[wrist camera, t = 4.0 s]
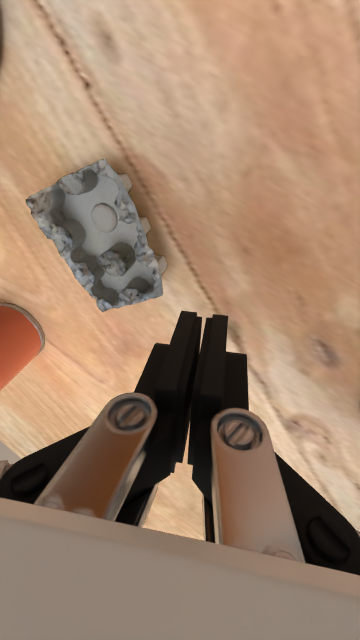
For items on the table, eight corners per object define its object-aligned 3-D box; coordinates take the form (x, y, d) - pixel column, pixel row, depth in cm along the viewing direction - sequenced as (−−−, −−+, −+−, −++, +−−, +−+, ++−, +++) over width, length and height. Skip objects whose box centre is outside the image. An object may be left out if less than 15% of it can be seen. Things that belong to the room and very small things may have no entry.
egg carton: (49, 187, 24) (16, 193, 20) (129, 152, 21) (106, 151, 18) (106, 301, 28) (86, 321, 25) (177, 282, 26) (166, 302, 22)
